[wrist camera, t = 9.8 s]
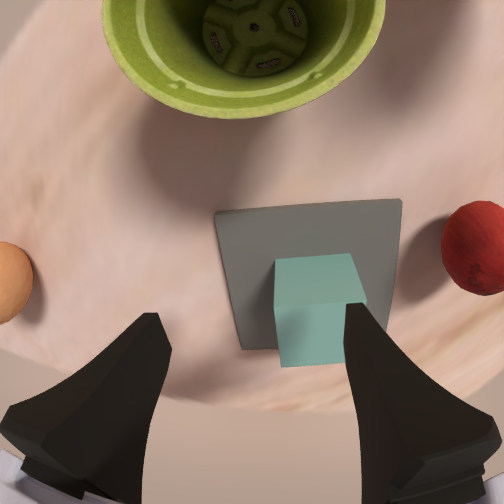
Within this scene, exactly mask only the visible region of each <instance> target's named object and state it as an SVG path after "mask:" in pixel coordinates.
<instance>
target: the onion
mask: <svg viewBox="0 0 504 504" xmlns="http://www.w3.org/2000/svg"><path fill="white" fill-rule="evenodd" d="M441 250H442V259H443V263H444V266H445V268H446V270H447V272H448V273H449V275H450V276H451V278H452V279H453V281H454V282H455V283H456V284H457V285H458V286H459V287H460V288H462V289H464V290H466V291H469V292H472V293H474V294H477V295H482V296H488V295H493V294H497V293H499V292H502V291H504V208H502V207H500V206H499V205H497V204H495V203H493V202H491V201H475V202H472V203H469V204H466V205H464V206H461V207H460V208H459V209H458V210H457V211H455V212H454V213H453V214H452V215H451V216H450V218H449V220H448V221H447V223H446V225H445V227H444V230H443V234H442V239H441Z"/></svg>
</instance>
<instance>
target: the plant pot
mask: <svg viewBox="0 0 504 504" xmlns="http://www.w3.org/2000/svg"><path fill="white" fill-rule="evenodd" d="M385 3H386V0H236V1H233V2H230V0H103V4H102V24H103V31H104V35H105V39H106V41H107V43H108V46H109V49H110V52H111V54H112V56H113V58H114V59H115V61H116V63H117V64H118V66H119V67H120V69H121V70H122V71H123V72H124V74H125V75H126V76H127V77H128V78H129V79H130V80H131V81H132V82H133V83H134V84H135V85H136V86H137V87H138V88H139V89H140V90H141V91H143V92H144V93H146V94H147V95H149V96H151V97H152V98H154V99H156V100H157V101H159V102H161V103H163V104H165V105H167V106H170V107H172V108H174V109H177V110H179V111H182V112H185V113H189V114H193V115H197V116H202V117H207V118H217V119H249V118H257V117H264V116H269V115H274V114H278V113H281V112H285V111H288V110H291V109H294V108H296V107H299V106H302V105H304V104H306V103H309V102H311V101H313V100H315V99H317V98H318V97H320V96H322V95H324V94H326V93H327V92H329V91H330V90H332V89H333V88H335V87H336V86H338V85H339V84H340V83H341V82H343V81H344V80H345V79H346V78H348V77H349V76H350V75H351V74H352V73H353V72H354V71H355V70H356V69H357V68H358V67H359V66H360V64H361V63H362V62H363V61H364V59H365V58H366V57H367V55H368V54H369V52H370V51H371V49H372V47H373V46H374V44H375V43H376V41H377V38H378V36H379V33H380V31H381V28H382V24H383V20H384V16H385ZM288 7H290V8H293V9H294V11H295V12H296V14H297V16H298V18H299V22H300V24H299V26H297V27H295V25H294V22H293V18H292V16H291V14H290V12H289V10H288V9H287V8H288ZM251 24H257V25H258V27H259V29H258V31H256V32H254V31H251V29H250V26H251ZM213 32H214V33H216V37H217V39H218V42H219V44H220V47H221V48H222V52H218V51H216V48H215V46H214V44H213V43H212V42H211V34H212V33H213ZM275 58H280V62H279V63H278V64H277V65H275V66H270V67H267V68H258V67H257V64H258V63H264V62H269V61H271V60H274V59H275Z"/></svg>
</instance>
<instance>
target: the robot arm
mask: <svg viewBox="0 0 504 504" xmlns="http://www.w3.org/2000/svg"><path fill="white" fill-rule="evenodd" d="M343 347H344V355H345V363H346V369H347V374H348V378H349V382H350V387H351V391H352V395H353V400H354V404H355V409H356V413H357V419H358V426H359V437H360V450H361V473H362V504H504V472H502V473H500V474H498V475H496V476H494V477H492V478H490V479H488V480H486V481H484V482H483V479H482V475H483V474H484V473H485V469H484V465H483V463H484V462H485V461H487V460H488V459H489V458H490V457H491V456H492V455H493V454H494V453H495V452H496V451H497V450H498V449H499V447H500V445H501V443H502V439H501V436H500V433H499V430H498V427H497V425H496V423H495V421H494V419H493V417H492V416H490V415H488V414H486V413H484V412H482V411H480V410H478V409H476V408H474V407H472V406H470V405H469V404H467V403H465V402H464V401H462V400H461V399H459V398H457V397H456V396H454V395H453V394H451V393H450V392H449V391H447V390H446V389H444V388H443V387H442V386H440V385H439V384H438V383H436V382H435V381H434V380H432V379H431V378H430V377H429V376H428V375H426V374H425V373H424V372H423V371H422V370H421V369H420V368H419V367H418V366H416V365H415V364H414V363H413V362H412V361H411V360H410V359H409V358H408V357H407V356H406V355H405V353H404V352H403V351H402V350H401V349H400V348H399V347H398V346H397V345H396V344H395V343H394V341H393V340H392V339H391V338H390V337H389V335H388V334H387V333H386V332H385V331H384V329H383V328H382V327H381V326H380V324H379V323H378V322H377V321H376V319H375V318H374V317H373V315H372V314H371V313H370V311H369V310H368V308H367V307H366V306H365V304H364V303H363V302H359V303H348V304H346V312H345V325H344V338H343ZM171 352H172V347H171V345H170V342H169V340H168V338H167V335H166V333H165V330H164V328H163V325H162V323H161V320H160V318H159V315H158V313H143V314H142V315H141V316H140V317H139V318H138V319H136V320H135V321H134V322H133V323H132V324H131V325H130V326H129V327H128V328H127V329H126V330H125V331H124V332H123V333H122V334H120V335H119V336H118V337H117V338H116V339H115V340H114V341H113V342H112V343H111V344H110V345H109V346H108V347H106V348H105V349H104V350H103V351H102V352H101V353H100V354H98V355H97V356H96V357H95V358H94V359H93V360H92V361H90V362H89V363H88V364H87V365H85V366H84V367H83V368H81V369H80V370H79V371H77V372H76V373H74V374H73V375H72V376H70V377H68V378H67V379H65V380H64V381H62V382H61V383H59V384H57V385H56V386H54V387H52V388H50V389H48V390H47V391H45V392H43V393H41V394H39V395H36V396H34V397H32V398H30V399H27V400H25V401H22V402H19V403H17V404H14V405H11V406H10V407H9V409H8V410H7V412H6V414H5V416H4V418H3V420H2V421H1V423H0V433H1V434H2V435H3V436H4V437H5V438H6V439H7V440H8V441H9V442H10V443H12V444H13V445H14V446H15V447H16V448H17V449H18V450H20V451H21V452H22V453H23V454H24V455H26V457H25V459H24V460H22V459H21V458H19V457H17V456H16V455H14V454H12V453H10V452H9V451H7V450H5V449H2V450H1V452H0V503H1V504H141V503H142V498H141V497H142V475H143V464H144V456H145V449H146V443H147V438H148V432H149V427H150V422H151V419H152V416H153V412H154V409H155V406H156V403H157V401H158V398H159V395H160V392H161V389H162V386H163V383H164V380H165V377H166V374H167V371H168V367H169V362H170V357H171Z"/></svg>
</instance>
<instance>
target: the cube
mask: <svg viewBox="0 0 504 504" xmlns="http://www.w3.org/2000/svg"><path fill="white" fill-rule="evenodd" d="M359 302H363V303H364V304H365V306H366V303H367V299H366V296H365V293H364V290H363V287H362V284H361V281H360V279H359V276H358V273H357V270H356V267H355V265H354V262H353V259H352V257H351V254H350V253H345V254H334V255H322V256H309V257H297V258H285V259H275V286H274V314H275V322H276V330H277V338H278V347H279V355H280V363H281V367H298V366H312V365H324V364H335V363H345V355H344V347H343V338H344V325H345V312H346V304H348V303H359Z"/></svg>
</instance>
